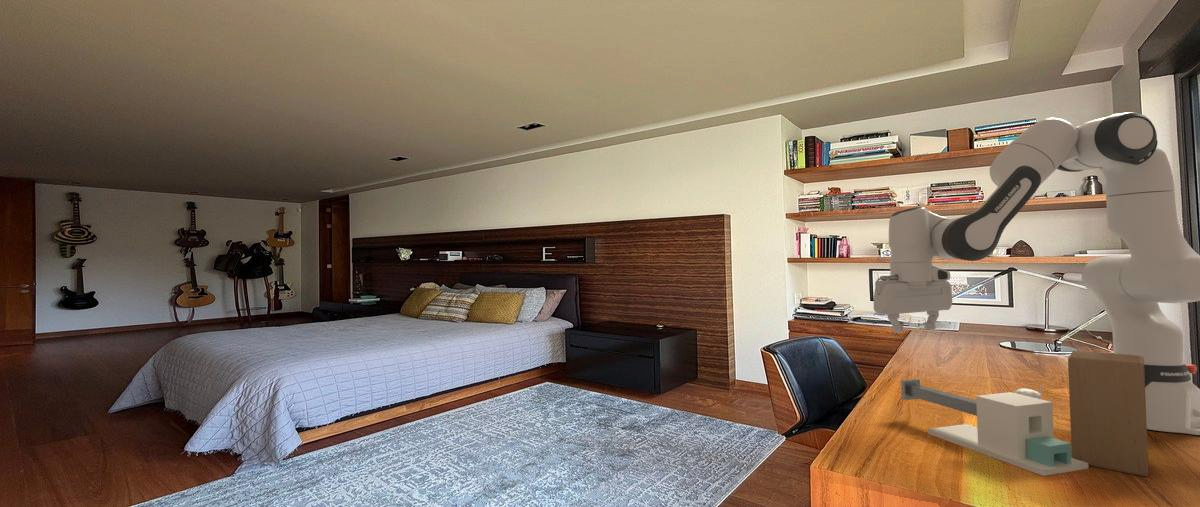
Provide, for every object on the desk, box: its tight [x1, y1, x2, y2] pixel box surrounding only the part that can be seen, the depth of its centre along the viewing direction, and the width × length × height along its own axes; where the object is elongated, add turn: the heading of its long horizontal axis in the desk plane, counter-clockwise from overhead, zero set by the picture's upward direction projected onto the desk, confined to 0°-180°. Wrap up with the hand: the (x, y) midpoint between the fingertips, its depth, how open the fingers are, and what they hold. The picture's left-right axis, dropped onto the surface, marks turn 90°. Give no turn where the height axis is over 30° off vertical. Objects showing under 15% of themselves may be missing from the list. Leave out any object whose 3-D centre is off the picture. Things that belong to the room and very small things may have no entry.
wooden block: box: [1067, 350, 1150, 477], centre depth 98 cm, size 10×10×20 cm
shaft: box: [900, 378, 977, 417], centre depth 115 cm, size 5×25×5 cm, turn 14°
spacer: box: [1027, 436, 1072, 467], centre depth 96 cm, size 5×4×4 cm
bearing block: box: [927, 391, 1089, 477], centre depth 105 cm, size 11×24×11 cm, turn 14°
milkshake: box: [1014, 384, 1044, 399], centre depth 116 cm, size 4×5×10 cm
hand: (914, 330), depth 125 cm, fingers open, 8 cm apart
